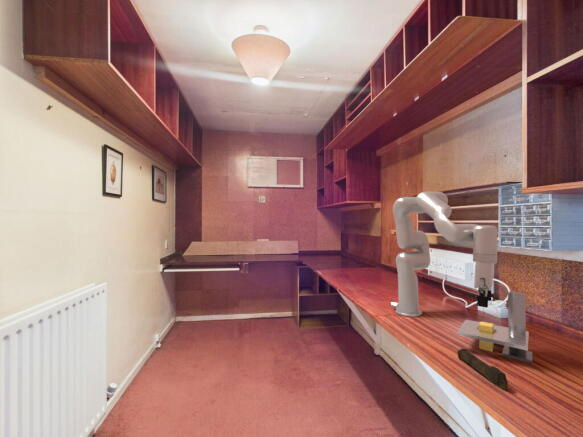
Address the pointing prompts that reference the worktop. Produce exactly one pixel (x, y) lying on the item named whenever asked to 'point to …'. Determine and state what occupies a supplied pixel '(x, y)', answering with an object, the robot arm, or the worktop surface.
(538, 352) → the worktop surface
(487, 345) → the yellow block
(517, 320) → the gray plate with post
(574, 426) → the worktop surface
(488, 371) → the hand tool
